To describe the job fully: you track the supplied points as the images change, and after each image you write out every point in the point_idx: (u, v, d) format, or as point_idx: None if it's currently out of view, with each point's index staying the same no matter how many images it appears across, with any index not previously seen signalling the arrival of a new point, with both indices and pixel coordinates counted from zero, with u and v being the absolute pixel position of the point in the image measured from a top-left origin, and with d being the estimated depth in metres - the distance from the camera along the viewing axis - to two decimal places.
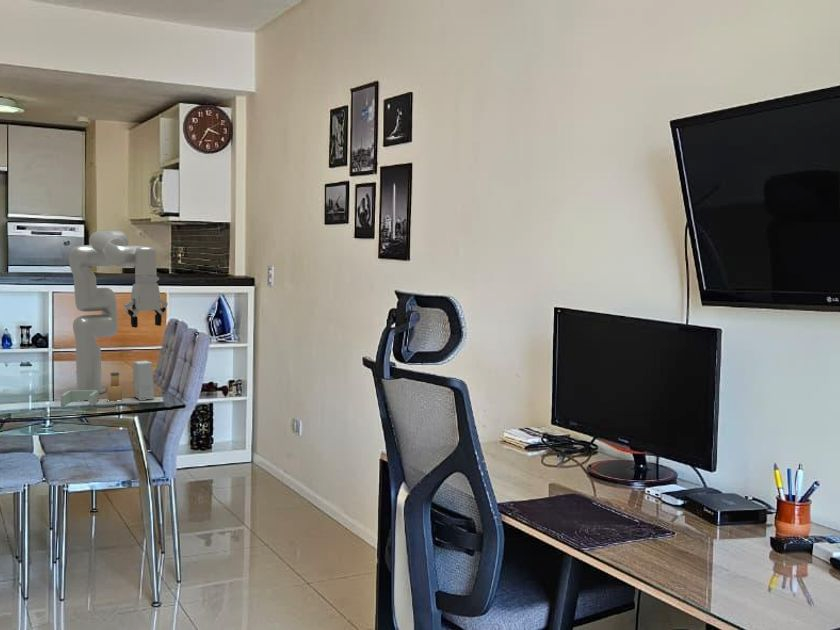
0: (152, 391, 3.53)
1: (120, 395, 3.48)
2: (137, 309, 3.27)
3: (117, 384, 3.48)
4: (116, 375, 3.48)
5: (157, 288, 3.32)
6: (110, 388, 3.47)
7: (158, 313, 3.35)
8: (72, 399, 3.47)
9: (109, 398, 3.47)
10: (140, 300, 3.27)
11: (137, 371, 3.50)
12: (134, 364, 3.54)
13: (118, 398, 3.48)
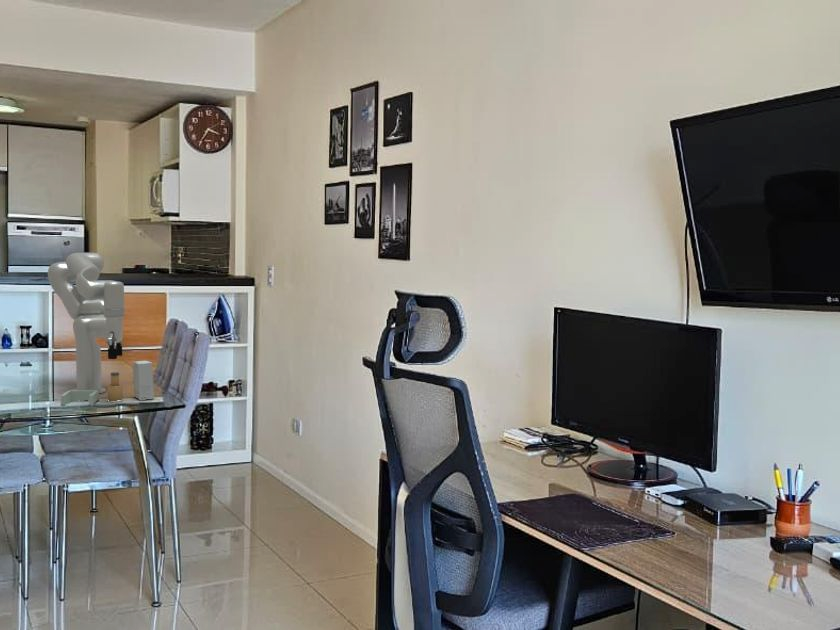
0: (152, 391, 3.53)
1: (120, 395, 3.48)
2: (116, 341, 3.43)
3: (117, 384, 3.48)
4: (116, 375, 3.48)
5: None
6: (110, 388, 3.47)
7: (119, 344, 3.52)
8: (72, 399, 3.47)
9: (109, 398, 3.47)
10: (118, 332, 3.44)
11: (137, 371, 3.50)
12: (134, 364, 3.54)
13: (118, 398, 3.48)
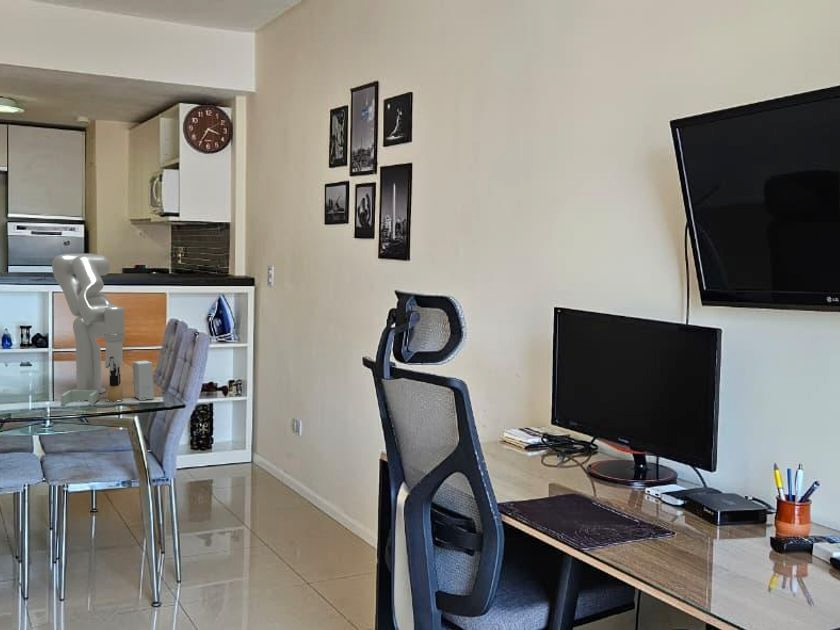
0: (152, 391, 3.53)
1: (120, 395, 3.48)
2: (116, 366, 3.44)
3: None
4: None
5: None
6: (110, 388, 3.47)
7: (117, 371, 3.51)
8: (72, 399, 3.47)
9: (109, 398, 3.47)
10: (118, 357, 3.45)
11: (137, 371, 3.50)
12: (134, 364, 3.54)
13: (118, 398, 3.48)
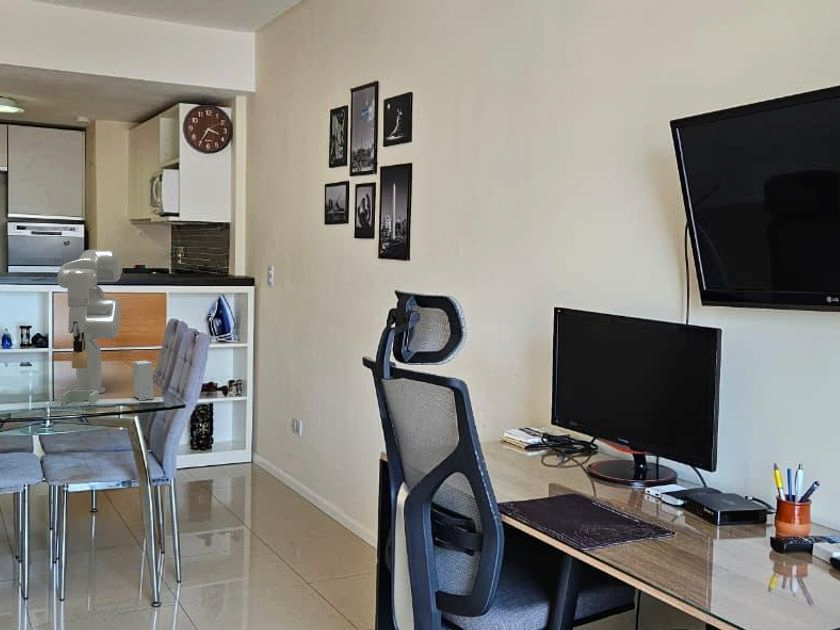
0: (152, 391, 3.53)
1: (84, 361, 3.41)
2: (80, 331, 3.36)
3: None
4: None
5: (86, 310, 3.44)
6: (74, 354, 3.39)
7: (81, 337, 3.43)
8: (72, 399, 3.47)
9: (73, 364, 3.40)
10: (82, 322, 3.37)
11: (137, 371, 3.50)
12: (134, 364, 3.54)
13: (82, 364, 3.40)
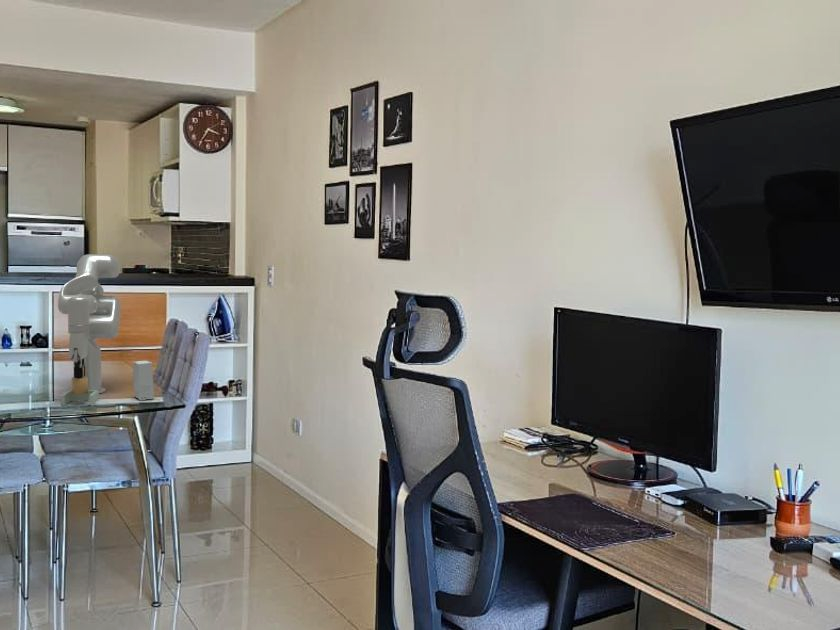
0: (152, 391, 3.53)
1: (85, 387, 3.41)
2: (80, 358, 3.37)
3: None
4: None
5: None
6: (74, 380, 3.40)
7: (82, 363, 3.44)
8: (72, 399, 3.47)
9: (73, 390, 3.40)
10: (82, 348, 3.38)
11: (137, 371, 3.50)
12: (134, 364, 3.54)
13: (83, 390, 3.41)
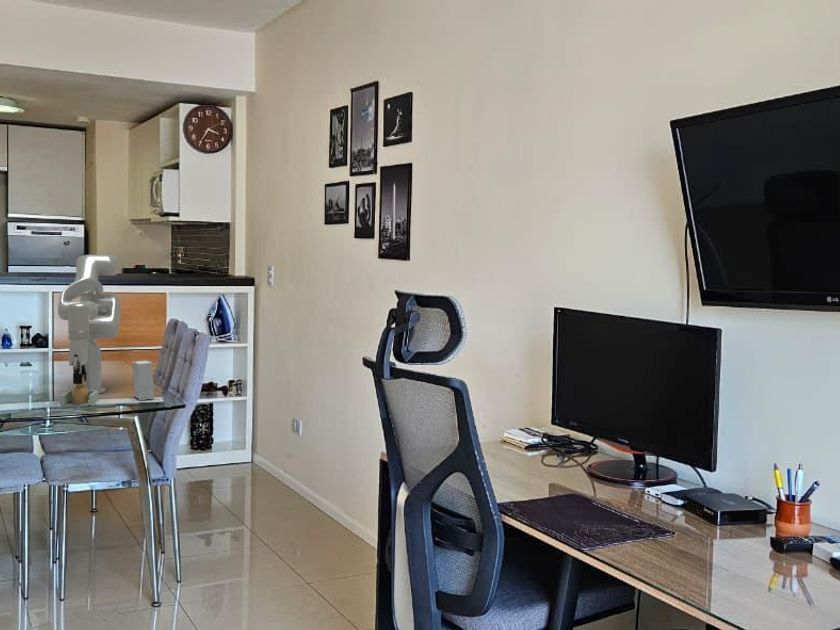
0: (152, 391, 3.53)
1: (85, 397, 3.42)
2: (81, 364, 3.38)
3: (82, 386, 3.42)
4: None
5: None
6: (75, 390, 3.41)
7: (83, 368, 3.45)
8: (72, 399, 3.47)
9: (74, 401, 3.41)
10: (82, 355, 3.38)
11: (137, 371, 3.50)
12: (134, 364, 3.54)
13: (83, 401, 3.42)
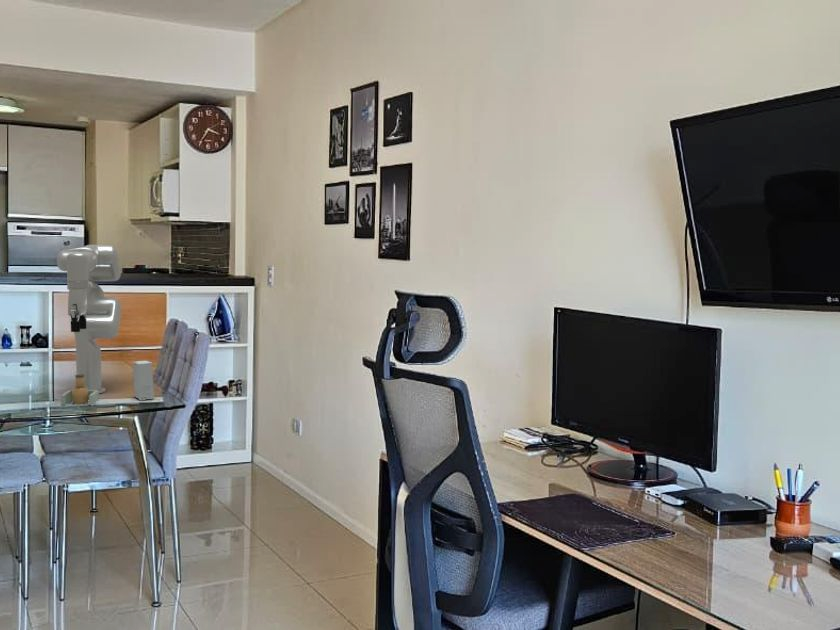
0: (152, 391, 3.53)
1: (85, 397, 3.42)
2: (80, 314, 3.36)
3: (82, 386, 3.42)
4: (81, 377, 3.42)
5: None
6: (75, 390, 3.41)
7: (83, 317, 3.45)
8: (72, 399, 3.47)
9: (74, 401, 3.41)
10: (81, 305, 3.36)
11: (137, 371, 3.50)
12: (134, 364, 3.54)
13: (83, 400, 3.42)
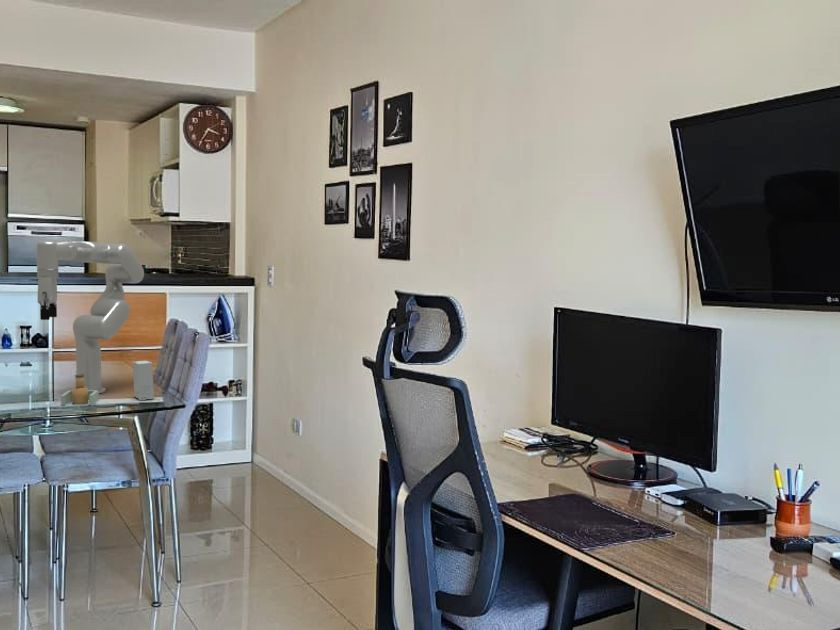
0: (152, 391, 3.53)
1: (85, 397, 3.42)
2: (49, 302, 3.38)
3: (82, 386, 3.42)
4: (81, 377, 3.42)
5: (56, 281, 3.45)
6: (75, 390, 3.41)
7: (53, 305, 3.47)
8: (72, 399, 3.47)
9: (74, 401, 3.41)
10: (51, 293, 3.38)
11: (137, 371, 3.50)
12: (134, 364, 3.54)
13: (83, 400, 3.42)
